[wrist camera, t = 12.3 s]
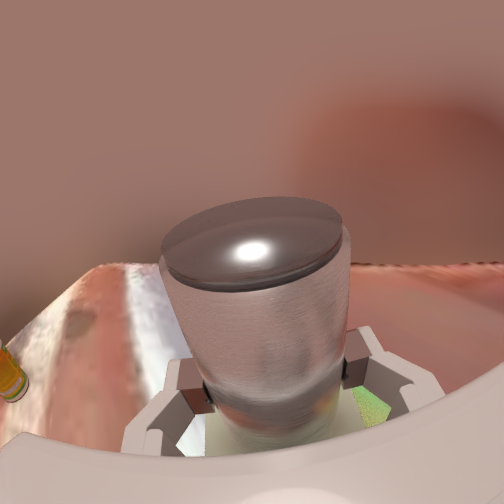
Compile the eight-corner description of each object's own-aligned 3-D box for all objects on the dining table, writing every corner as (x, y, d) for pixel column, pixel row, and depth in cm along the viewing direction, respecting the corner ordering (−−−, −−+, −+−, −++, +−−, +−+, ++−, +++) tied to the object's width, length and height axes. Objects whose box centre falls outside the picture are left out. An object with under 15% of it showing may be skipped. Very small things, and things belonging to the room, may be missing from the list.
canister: (320, 388, 15) (316, 187, 9) (342, 462, 10) (389, 250, 5) (234, 403, 14) (172, 211, 9) (239, 480, 10) (128, 295, 5)
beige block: (336, 409, 19) (342, 366, 17) (364, 504, 11) (386, 486, 9) (226, 428, 19) (206, 389, 17) (231, 527, 11) (205, 517, 9)
